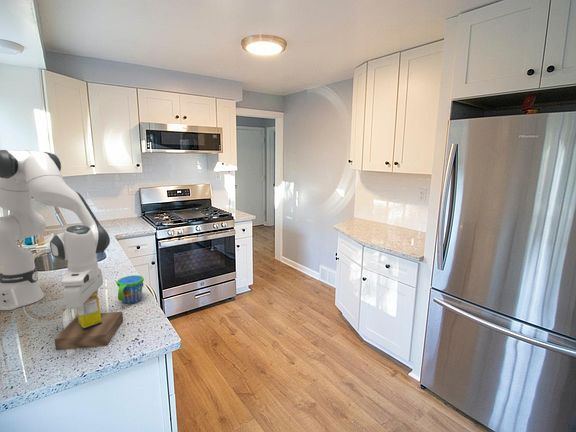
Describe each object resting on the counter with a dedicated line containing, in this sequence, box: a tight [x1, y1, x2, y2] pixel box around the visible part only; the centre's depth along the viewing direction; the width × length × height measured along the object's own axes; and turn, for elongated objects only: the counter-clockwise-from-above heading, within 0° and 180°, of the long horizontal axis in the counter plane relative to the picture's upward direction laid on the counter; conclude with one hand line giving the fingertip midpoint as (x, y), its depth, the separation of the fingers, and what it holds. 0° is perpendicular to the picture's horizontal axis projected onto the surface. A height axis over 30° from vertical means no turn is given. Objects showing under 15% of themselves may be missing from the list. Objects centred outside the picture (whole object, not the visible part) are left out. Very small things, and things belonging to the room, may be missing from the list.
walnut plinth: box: [54, 311, 124, 351], centre depth 112 cm, size 16×16×4 cm
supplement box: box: [76, 293, 102, 330], centre depth 111 cm, size 6×6×11 cm
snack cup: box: [116, 274, 144, 304], centre depth 138 cm, size 16×10×10 cm
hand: (88, 307), depth 111 cm, fingers closed on supplement box, 8 cm apart
